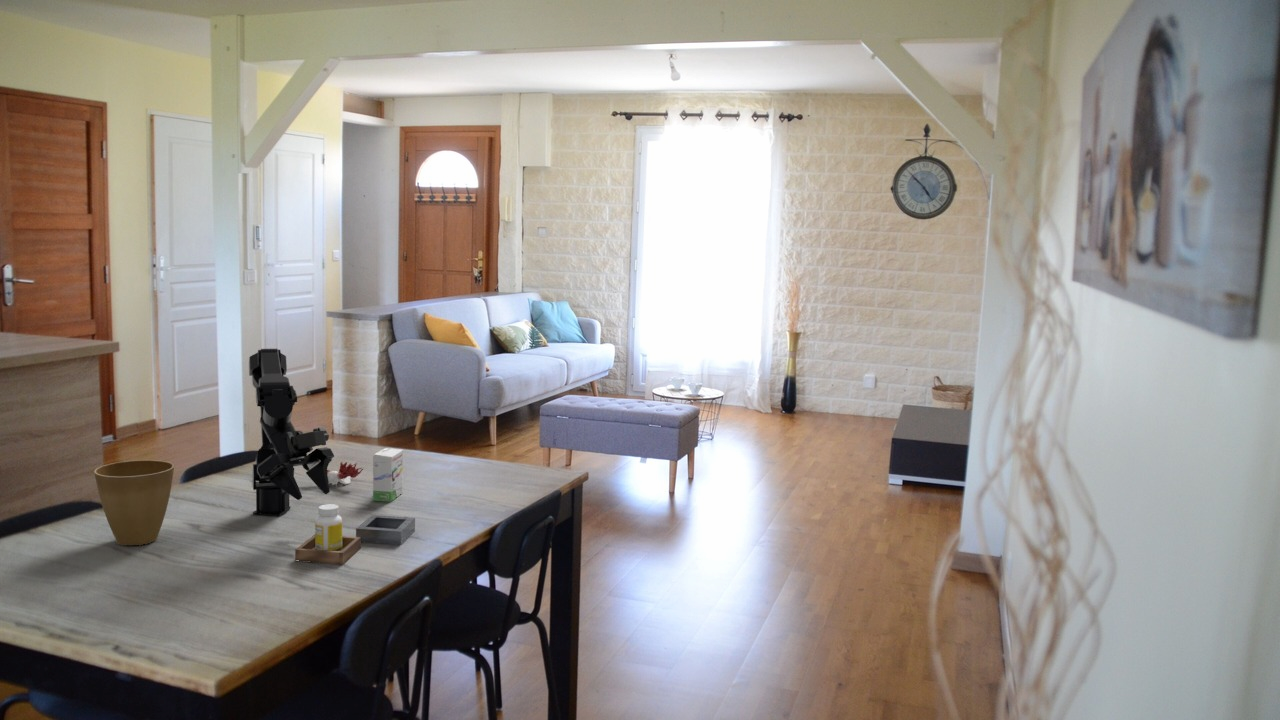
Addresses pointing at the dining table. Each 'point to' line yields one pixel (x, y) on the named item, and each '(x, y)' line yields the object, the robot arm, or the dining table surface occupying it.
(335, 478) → the figurine
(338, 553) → the walnut tray
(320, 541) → the supplement bottle
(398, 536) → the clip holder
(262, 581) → the dining table surface
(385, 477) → the ink box
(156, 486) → the plant pot
